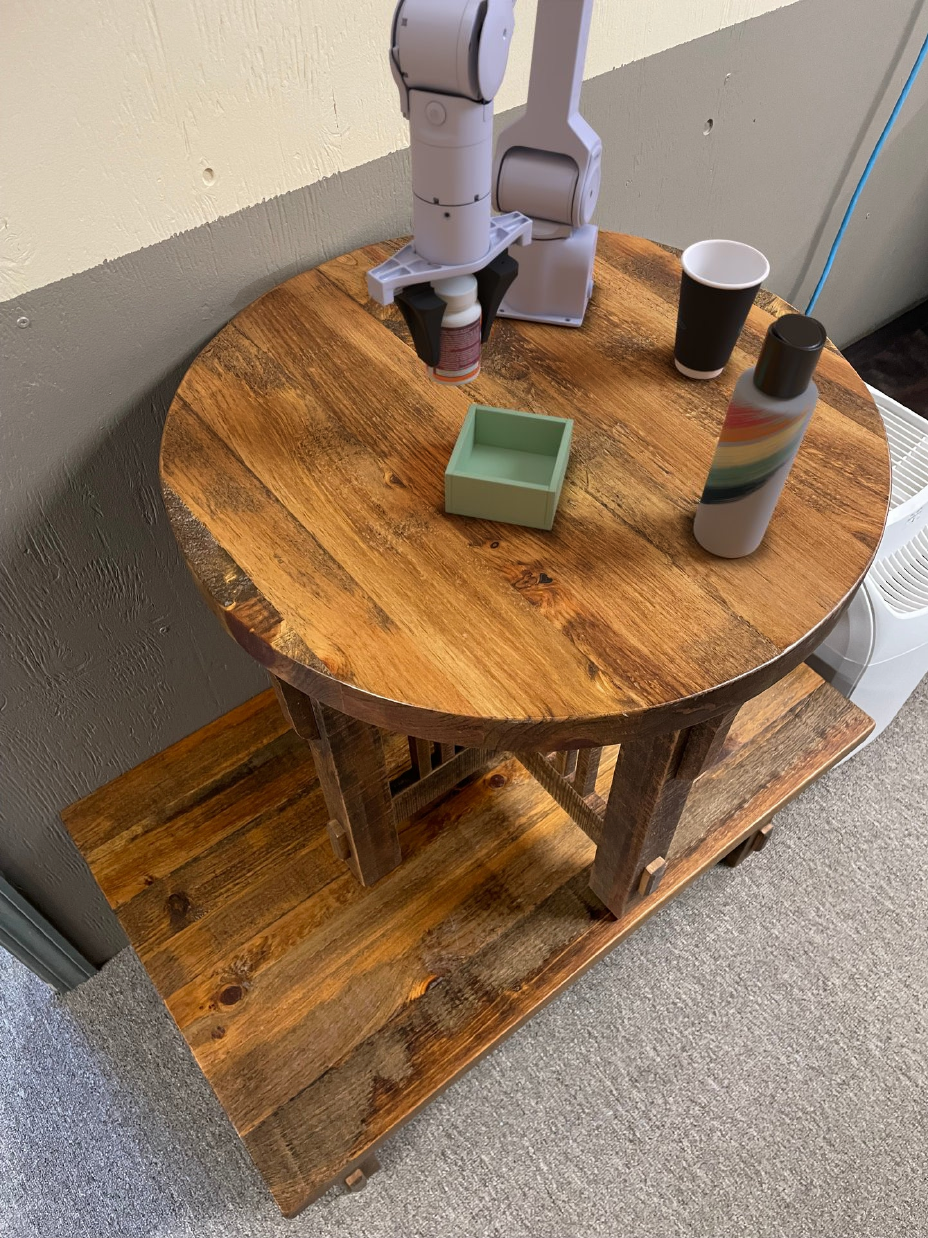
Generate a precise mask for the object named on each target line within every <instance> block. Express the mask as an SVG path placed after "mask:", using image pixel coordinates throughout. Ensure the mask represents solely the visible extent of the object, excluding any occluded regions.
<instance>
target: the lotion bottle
mask: <svg viewBox="0 0 928 1238" xmlns="http://www.w3.org/2000/svg"><path fill="white" fill-rule="evenodd" d="M827 337H828V335H827V329H826V328H825V326H824V325H823V324H822V322H820V321H819V320H818V319H816V318H814V317H811V316H807V315H803V314H800V313H795V312H794V313H784V314H781V315H780V316H779V317H778V318H777V319H776V320H774V321H773V322H772V323H770V324H769V326H768V327H767V330H766V333H765V335H764V339H763V342H762V344H761V348H760V351H759V354H758V358H757V362H756V364H755V365H753V366H750V367H749V368H746V369H745V370H744V371H743V372H741V374H740V375H739V377H738V378H737V380H736V383H735V386H734V389H733V392H732V396H731V399H730V401H729V405H728V408H727V412H726V415H725V418H724V422H723V425H722V427H721V431H720V435H719V438H718V441H717V444H716V448H715V450H714V455H713V458H712V461H711V464H710V467H709V471H708V474H707V477H706V480H705V483H704V486H703V489H702V494H701V496H700V500H699V504H698V506H697V510H696V514H695V517H694V522H693V535H694V537H695V539H696V541H697V543H698V544H699V545H700V546H701V547H702V548H703V549H705V550H706V551H707V552H709V553H711V554H713V555H715V556H719V557H722V558H729V559H737V558H743V557H746V556H748V555H750V554H752V553H753V552H755V551H756V550H757V548H758V547H759V546H760V544H761V542H762V540H763V539H764V536H765V534H766V531H767V529H768V526H769V524H770V521H771V519H772V517H773V513H774V511H775V508H776V507H777V504H778V501H779V499H780V496H781V494H782V491H783V490H784V486H785V484H786V482H787V480H788V477H789V474H790V472H791V469H792V467H793V464H794V463H795V459H796V457H797V454H798V452H799V449H800V448H801V444H802V442H803V441H804V437H805V434H806V432H807V430H808V427H809V425H810V422H811V419H812V417H813V414H814V411H815V409H816V408H817V407H816V406H817V403H818V401H819V390H818V387H817V385H816V383H815V381H813V379H812V378H813V376H814V373H815V370H816V368H817V366H818V363H819V360H820V358H821V356H822V353H823V351H824V347H825V345H826V343H827V339H828V338H827Z"/></svg>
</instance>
